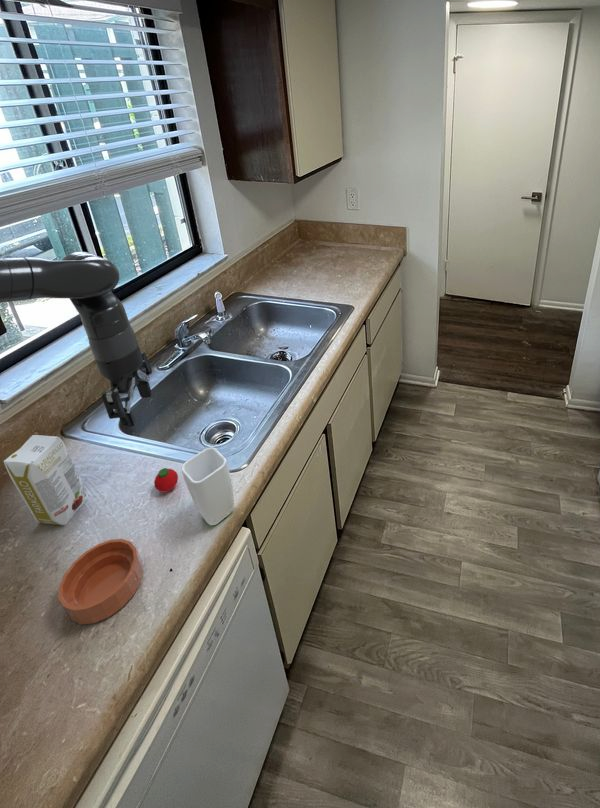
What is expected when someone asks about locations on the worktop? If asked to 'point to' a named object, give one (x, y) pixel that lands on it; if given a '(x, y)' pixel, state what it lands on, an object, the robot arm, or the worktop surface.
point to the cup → (209, 485)
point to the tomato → (165, 480)
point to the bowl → (101, 581)
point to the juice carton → (47, 479)
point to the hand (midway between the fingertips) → (138, 410)
